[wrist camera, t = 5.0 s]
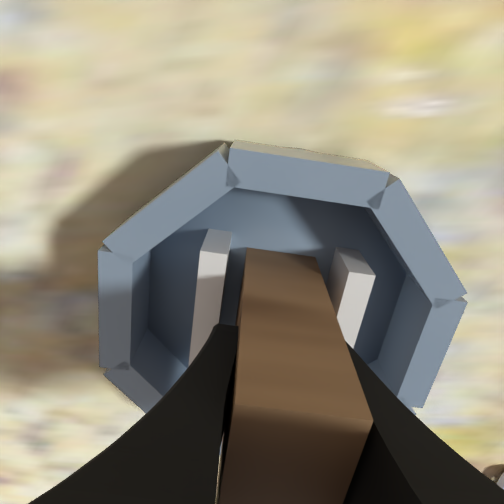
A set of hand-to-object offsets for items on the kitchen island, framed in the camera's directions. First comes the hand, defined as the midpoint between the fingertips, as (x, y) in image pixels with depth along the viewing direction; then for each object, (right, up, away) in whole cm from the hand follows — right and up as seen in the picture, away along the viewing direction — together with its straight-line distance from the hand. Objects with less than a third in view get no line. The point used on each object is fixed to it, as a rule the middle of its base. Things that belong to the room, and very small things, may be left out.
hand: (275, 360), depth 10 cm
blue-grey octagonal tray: (0, +1, +3) cm, 4 cm away
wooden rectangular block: (0, +1, +3) cm, 3 cm away
